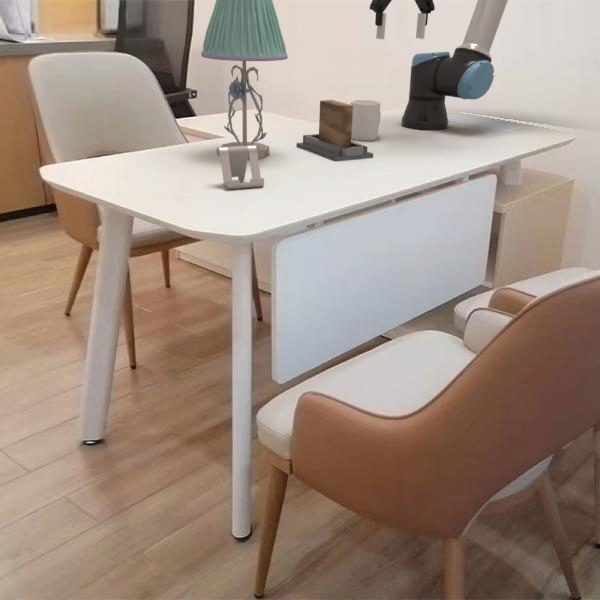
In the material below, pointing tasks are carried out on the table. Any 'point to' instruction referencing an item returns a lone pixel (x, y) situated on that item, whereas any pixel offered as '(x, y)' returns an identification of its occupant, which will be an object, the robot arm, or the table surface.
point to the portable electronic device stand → (239, 166)
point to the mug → (365, 120)
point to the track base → (333, 149)
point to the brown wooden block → (336, 122)
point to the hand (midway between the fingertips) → (400, 38)
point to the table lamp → (244, 51)
